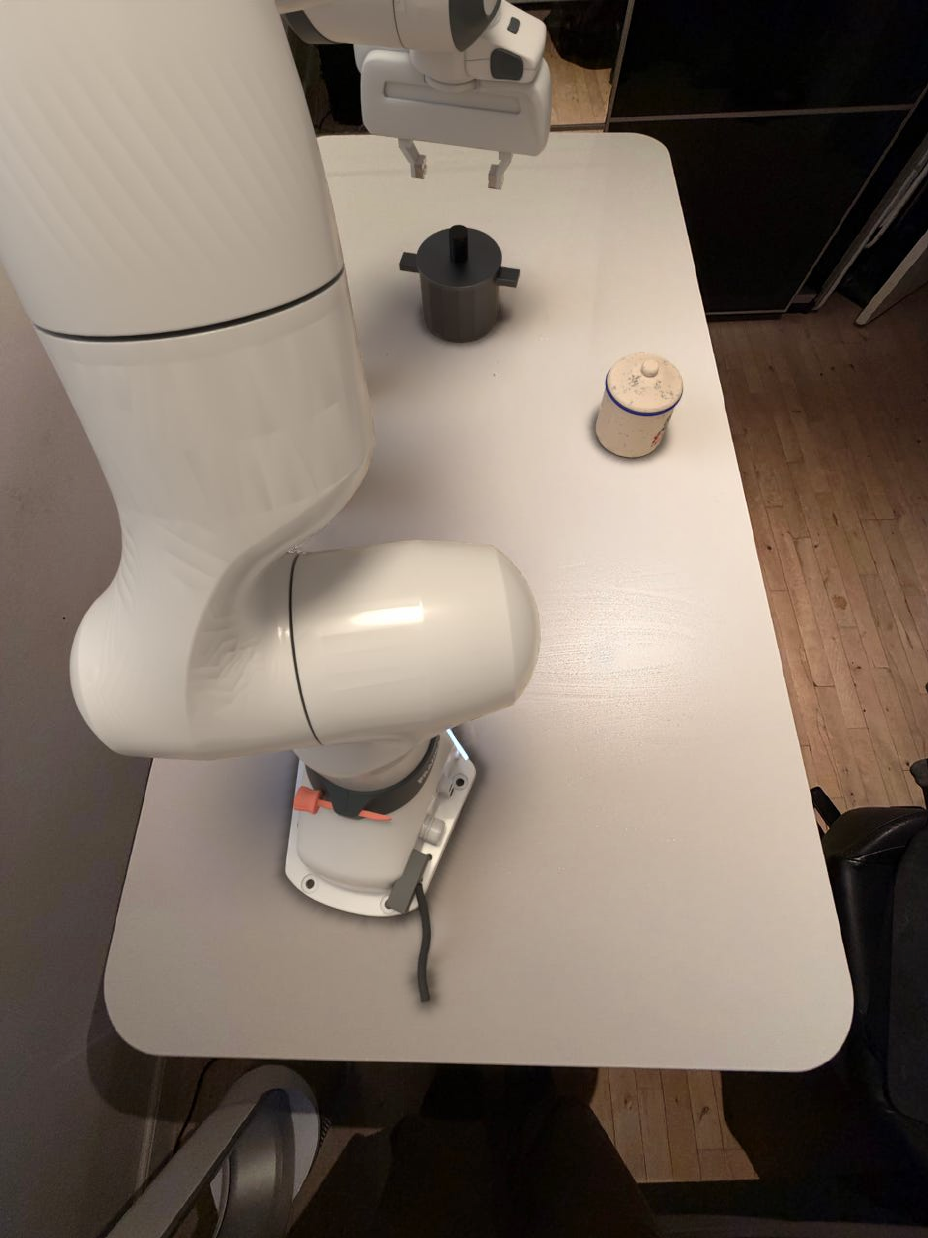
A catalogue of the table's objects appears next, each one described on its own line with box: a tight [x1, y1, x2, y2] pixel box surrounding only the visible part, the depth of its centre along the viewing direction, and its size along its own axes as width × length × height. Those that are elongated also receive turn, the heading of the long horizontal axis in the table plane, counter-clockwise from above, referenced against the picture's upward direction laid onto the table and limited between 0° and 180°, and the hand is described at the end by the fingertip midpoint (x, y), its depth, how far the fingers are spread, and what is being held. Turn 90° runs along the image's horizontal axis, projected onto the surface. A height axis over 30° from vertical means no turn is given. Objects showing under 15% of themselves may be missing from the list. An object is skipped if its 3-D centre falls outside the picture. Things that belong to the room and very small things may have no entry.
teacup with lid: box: [595, 351, 684, 458], centre depth 78 cm, size 12×9×12 cm
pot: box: [398, 251, 521, 344], centre depth 87 cm, size 11×16×8 cm, turn 77°
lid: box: [416, 224, 503, 291], centre depth 82 cm, size 11×11×5 cm
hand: (457, 180), depth 74 cm, fingers open, 8 cm apart
